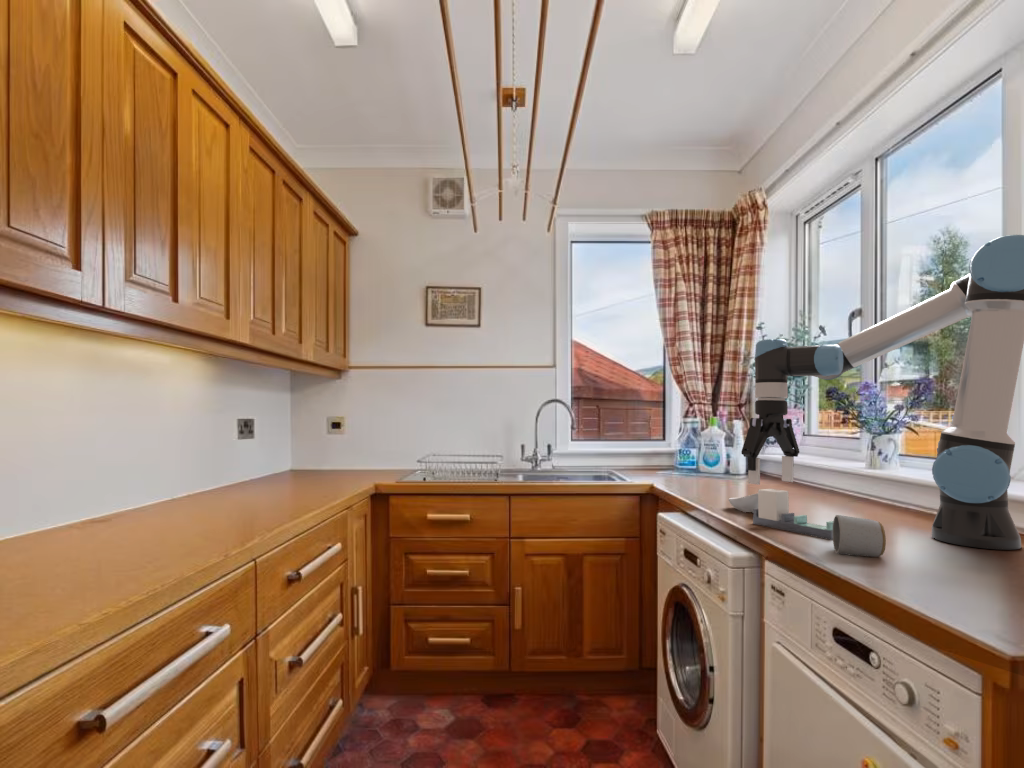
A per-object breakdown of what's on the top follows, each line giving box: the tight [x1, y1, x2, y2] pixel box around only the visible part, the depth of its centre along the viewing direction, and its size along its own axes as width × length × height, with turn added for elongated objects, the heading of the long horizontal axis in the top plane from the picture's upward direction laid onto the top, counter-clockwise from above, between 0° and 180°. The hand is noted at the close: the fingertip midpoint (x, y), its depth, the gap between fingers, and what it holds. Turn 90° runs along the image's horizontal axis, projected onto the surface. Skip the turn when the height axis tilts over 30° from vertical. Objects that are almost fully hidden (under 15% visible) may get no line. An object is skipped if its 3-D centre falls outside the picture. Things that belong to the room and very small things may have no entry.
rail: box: [752, 509, 834, 540], centre depth 130 cm, size 20×4×4 cm, turn 29°
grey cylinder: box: [832, 514, 887, 558], centre depth 109 cm, size 11×8×8 cm
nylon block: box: [757, 488, 790, 521], centre depth 135 cm, size 5×5×7 cm
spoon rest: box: [728, 492, 758, 514], centre depth 151 cm, size 24×12×7 cm, turn 3°
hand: (771, 482), depth 136 cm, fingers open, 13 cm apart
